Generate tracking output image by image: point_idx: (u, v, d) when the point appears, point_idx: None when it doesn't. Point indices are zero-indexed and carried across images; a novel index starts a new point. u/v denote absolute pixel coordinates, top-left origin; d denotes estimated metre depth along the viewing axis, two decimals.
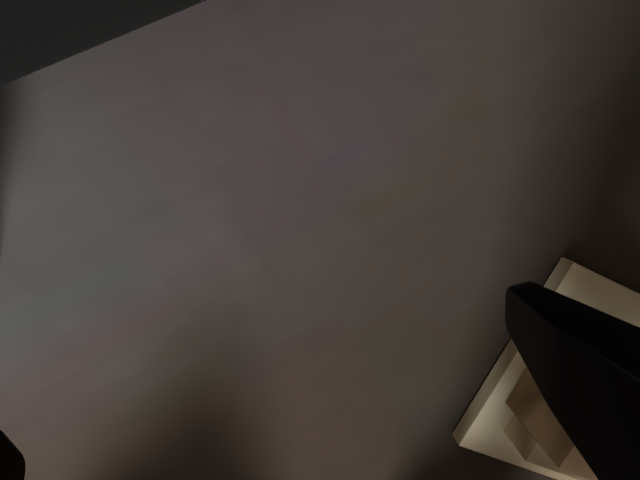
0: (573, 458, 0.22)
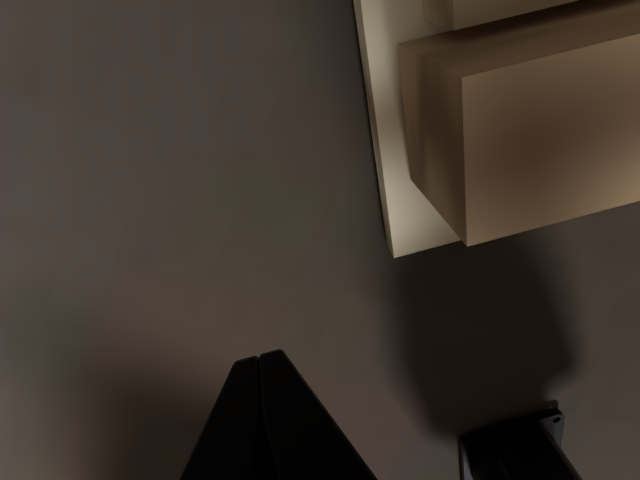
0: (478, 222, 0.14)
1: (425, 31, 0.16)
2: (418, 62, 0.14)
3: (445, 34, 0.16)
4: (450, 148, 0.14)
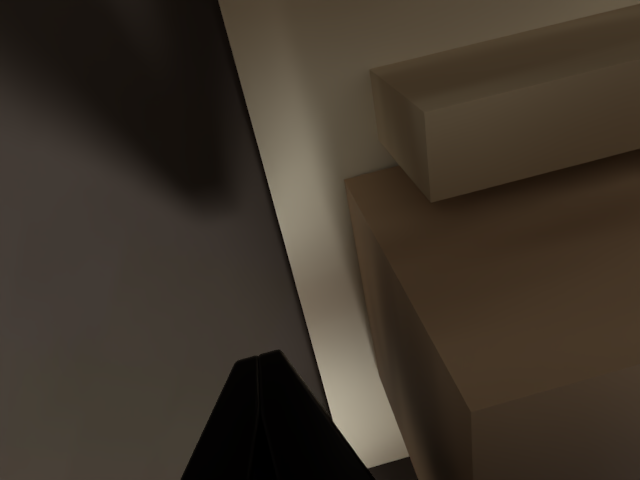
0: None
1: (383, 158, 0.08)
2: (376, 249, 0.07)
3: None
4: (441, 464, 0.06)
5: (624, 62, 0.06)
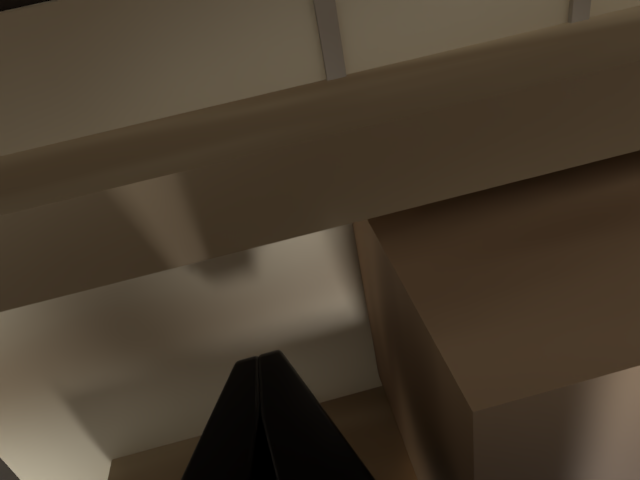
0: None
1: None
2: (378, 248, 0.07)
3: None
4: (442, 464, 0.06)
5: (27, 208, 0.05)
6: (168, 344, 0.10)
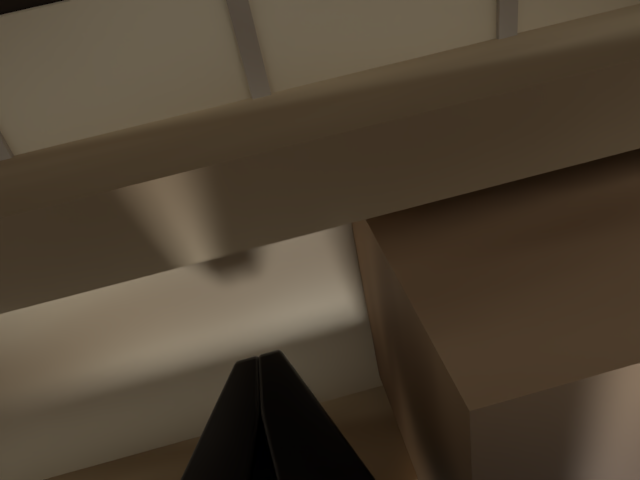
0: None
1: None
2: (376, 248, 0.07)
3: None
4: (441, 463, 0.06)
5: None
6: None
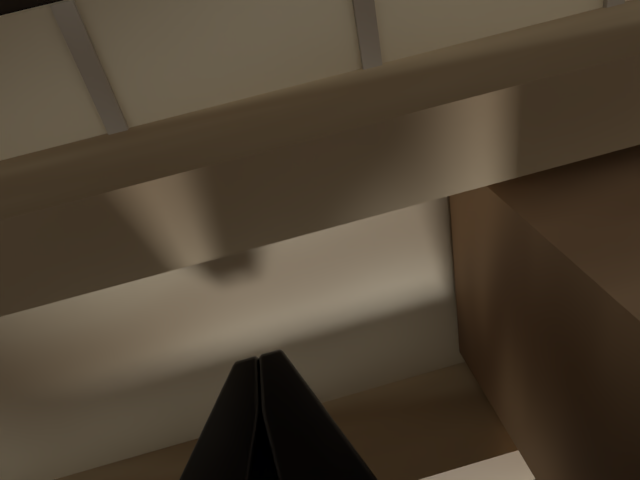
0: None
1: None
2: (502, 213, 0.07)
3: None
4: (583, 422, 0.06)
5: None
6: (1, 392, 0.10)
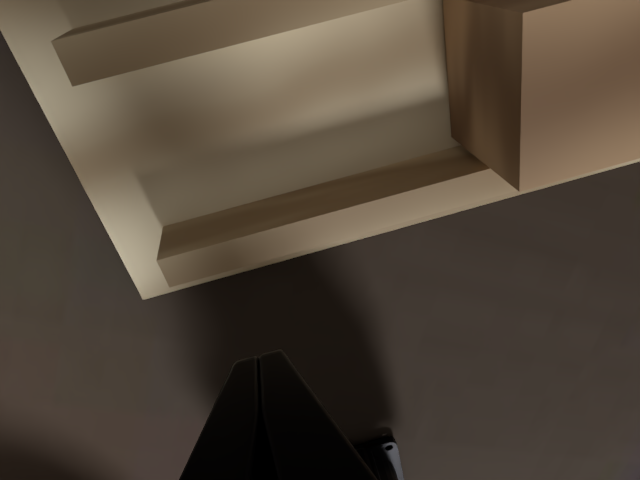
0: (532, 166, 0.14)
1: None
2: (468, 9, 0.15)
3: None
4: (503, 92, 0.14)
5: (143, 17, 0.13)
6: (196, 141, 0.17)
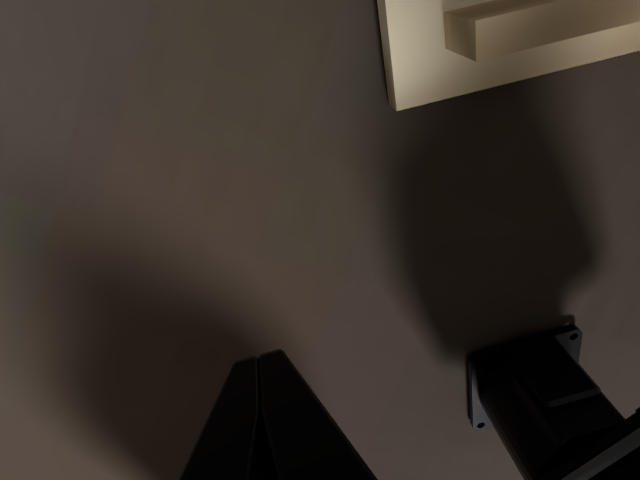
0: None
1: None
2: None
3: None
4: None
5: None
6: None
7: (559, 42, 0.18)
